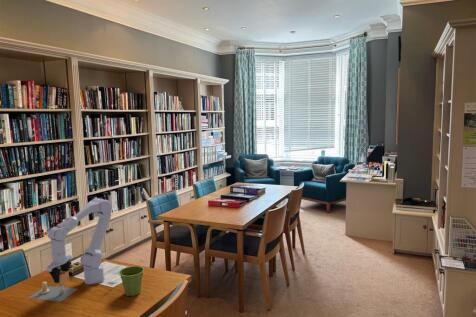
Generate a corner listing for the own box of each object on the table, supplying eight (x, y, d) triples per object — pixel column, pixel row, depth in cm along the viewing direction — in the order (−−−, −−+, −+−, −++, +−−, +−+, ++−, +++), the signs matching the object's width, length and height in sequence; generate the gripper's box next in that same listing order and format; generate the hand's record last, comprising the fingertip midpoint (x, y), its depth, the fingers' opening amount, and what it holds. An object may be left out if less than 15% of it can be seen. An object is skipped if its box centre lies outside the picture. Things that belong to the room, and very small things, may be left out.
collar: (60, 278, 168) (59, 270, 167) (69, 279, 167) (68, 271, 166) (52, 283, 163) (51, 275, 162) (61, 284, 162) (61, 276, 161)
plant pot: (150, 289, 171) (149, 267, 170) (133, 301, 161) (132, 277, 159) (131, 285, 176) (130, 264, 175) (114, 296, 166) (113, 273, 164)
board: (78, 291, 170) (77, 279, 170) (61, 304, 159) (60, 290, 158) (46, 288, 174) (45, 276, 173) (27, 301, 162) (26, 287, 162)
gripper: (62, 246, 171) (64, 272, 172) (39, 257, 157) (42, 286, 158) (74, 247, 170) (76, 273, 171) (53, 258, 155) (55, 287, 157)
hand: (60, 279), depth 165 cm, fingers closed on collar, 5 cm apart
